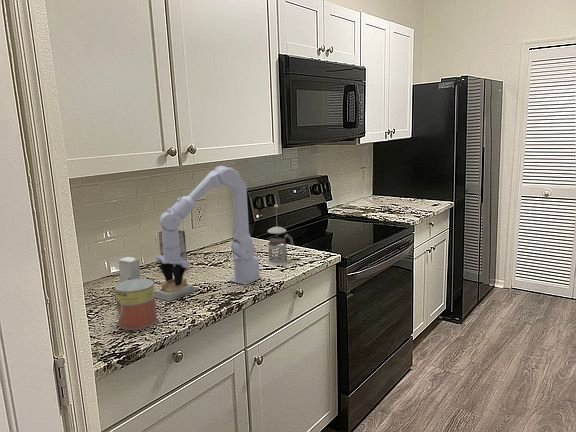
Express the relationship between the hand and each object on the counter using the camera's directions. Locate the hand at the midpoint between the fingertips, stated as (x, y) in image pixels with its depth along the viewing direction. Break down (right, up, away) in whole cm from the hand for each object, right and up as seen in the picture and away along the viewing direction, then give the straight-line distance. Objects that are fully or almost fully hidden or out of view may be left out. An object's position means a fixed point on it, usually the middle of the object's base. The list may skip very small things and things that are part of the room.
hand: (174, 283), depth 166 cm
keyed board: (0, -3, +1) cm, 3 cm away
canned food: (-5, -9, -23) cm, 25 cm away
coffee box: (-7, +2, +28) cm, 29 cm away
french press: (+37, +4, +34) cm, 50 cm away
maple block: (0, -3, +1) cm, 3 cm away
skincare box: (-16, -3, +3) cm, 17 cm away
